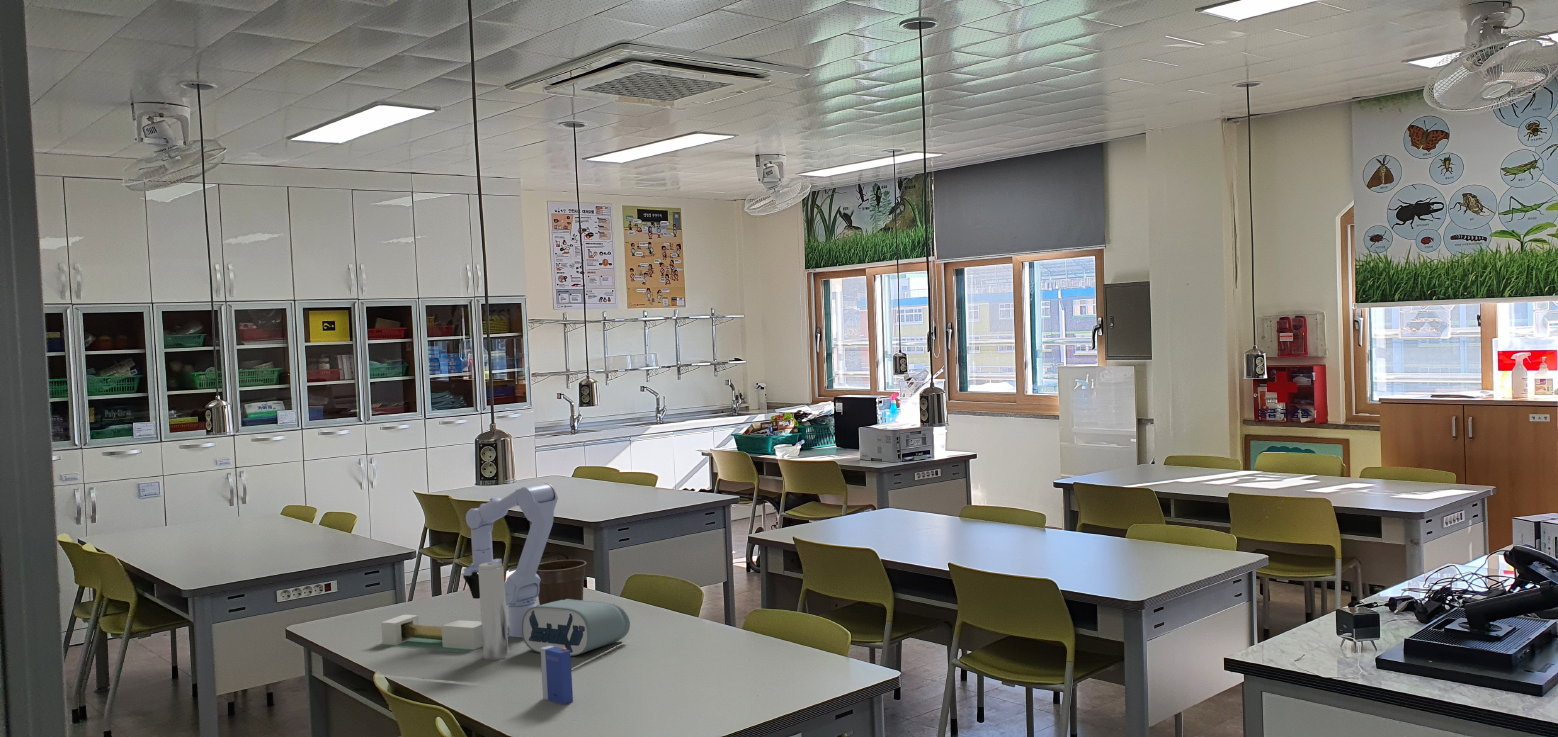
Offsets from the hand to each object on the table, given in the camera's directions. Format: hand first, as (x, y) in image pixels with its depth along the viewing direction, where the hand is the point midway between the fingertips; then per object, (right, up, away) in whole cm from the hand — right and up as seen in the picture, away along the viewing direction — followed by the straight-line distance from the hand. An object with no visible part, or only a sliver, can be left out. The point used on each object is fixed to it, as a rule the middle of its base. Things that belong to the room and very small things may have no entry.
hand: (484, 595), depth 319 cm
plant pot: (+21, -9, +9) cm, 24 cm away
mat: (-9, -11, -15) cm, 21 cm away
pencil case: (+32, -9, -26) cm, 42 cm away
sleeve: (0, -10, -19) cm, 21 cm away
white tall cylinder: (+12, -10, -32) cm, 35 cm away
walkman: (+35, -10, -70) cm, 79 cm away
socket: (-21, -11, -10) cm, 26 cm away
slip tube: (-11, -9, -14) cm, 20 cm away
